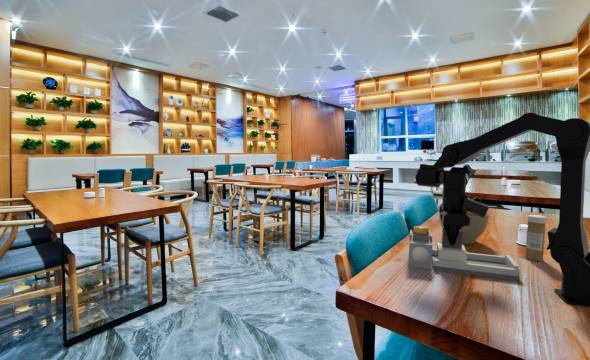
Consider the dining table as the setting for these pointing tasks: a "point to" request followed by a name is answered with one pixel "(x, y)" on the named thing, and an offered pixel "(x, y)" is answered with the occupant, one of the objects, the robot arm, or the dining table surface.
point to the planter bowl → (472, 227)
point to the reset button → (421, 230)
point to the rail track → (480, 266)
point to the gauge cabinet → (420, 251)
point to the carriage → (451, 249)
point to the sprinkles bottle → (535, 237)
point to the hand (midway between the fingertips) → (451, 242)
